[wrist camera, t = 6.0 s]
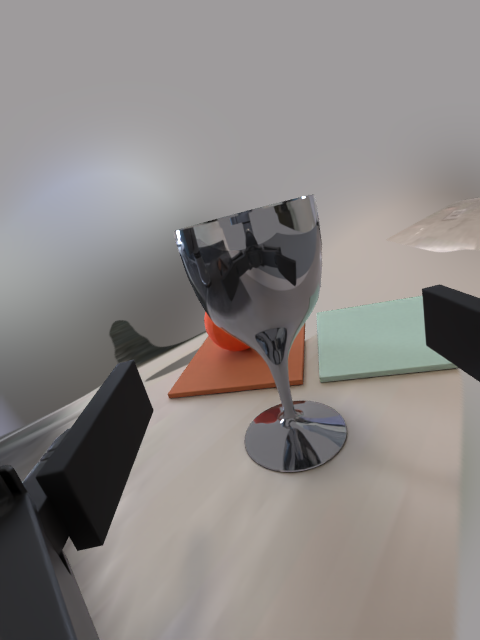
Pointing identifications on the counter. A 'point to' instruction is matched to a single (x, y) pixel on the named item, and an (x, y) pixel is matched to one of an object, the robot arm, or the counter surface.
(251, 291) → the wine glass
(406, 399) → the counter surface
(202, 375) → the fruit mat
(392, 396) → the counter surface
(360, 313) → the glass mat
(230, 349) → the clementine
